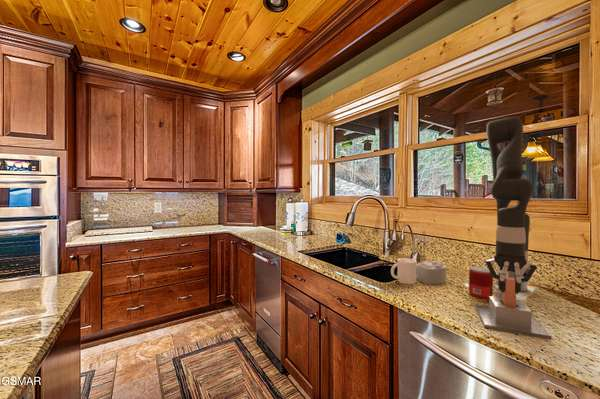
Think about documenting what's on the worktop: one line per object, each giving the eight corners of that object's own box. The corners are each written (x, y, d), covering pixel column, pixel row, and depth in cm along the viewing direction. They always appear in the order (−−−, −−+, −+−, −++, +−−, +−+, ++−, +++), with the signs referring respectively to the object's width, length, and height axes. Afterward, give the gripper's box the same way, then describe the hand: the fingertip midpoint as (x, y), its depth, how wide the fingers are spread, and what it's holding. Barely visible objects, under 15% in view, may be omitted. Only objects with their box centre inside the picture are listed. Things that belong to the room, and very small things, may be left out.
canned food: (496, 299, 104) (496, 272, 104) (473, 298, 105) (474, 271, 105) (486, 292, 111) (487, 266, 111) (465, 291, 113) (466, 265, 113)
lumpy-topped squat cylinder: (413, 277, 131) (413, 260, 130) (435, 275, 134) (436, 258, 133) (428, 285, 120) (429, 266, 120) (452, 282, 124) (452, 264, 123)
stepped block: (501, 303, 89) (502, 276, 88) (513, 304, 87) (513, 277, 87) (504, 306, 86) (505, 279, 86) (516, 308, 85) (516, 280, 84)
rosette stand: (474, 304, 100) (474, 259, 99) (527, 312, 93) (528, 264, 92) (484, 327, 83) (485, 274, 82) (551, 339, 76) (552, 281, 76)
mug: (394, 285, 120) (394, 263, 120) (386, 279, 128) (387, 258, 128) (419, 284, 121) (420, 262, 121) (410, 278, 129) (410, 257, 129)
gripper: (533, 239, 86) (532, 291, 87) (482, 236, 92) (481, 285, 93) (542, 244, 80) (541, 300, 80) (486, 240, 85) (485, 293, 86)
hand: (509, 292), depth 86 cm, fingers closed on stepped block, 3 cm apart
